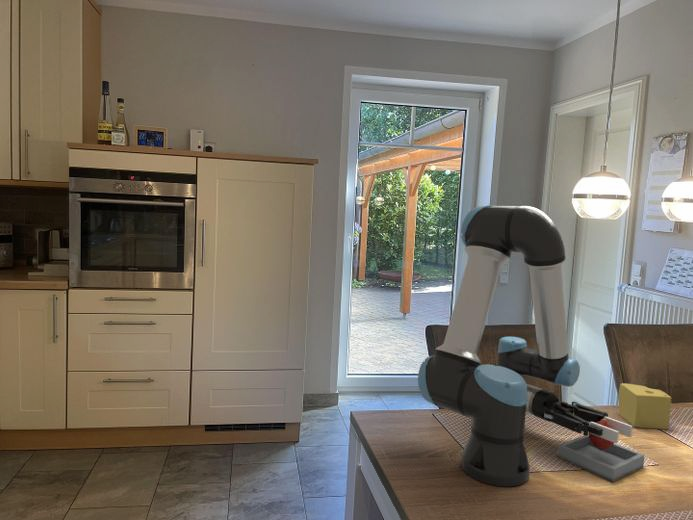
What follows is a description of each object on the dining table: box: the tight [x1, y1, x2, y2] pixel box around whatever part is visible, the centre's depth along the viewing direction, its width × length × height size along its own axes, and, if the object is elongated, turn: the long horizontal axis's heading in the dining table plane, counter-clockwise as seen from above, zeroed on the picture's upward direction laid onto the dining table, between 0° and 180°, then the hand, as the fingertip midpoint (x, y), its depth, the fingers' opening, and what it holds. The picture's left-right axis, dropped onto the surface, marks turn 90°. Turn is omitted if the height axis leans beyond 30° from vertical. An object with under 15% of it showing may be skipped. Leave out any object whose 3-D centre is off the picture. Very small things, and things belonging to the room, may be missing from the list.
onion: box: [588, 419, 614, 451], centre depth 124 cm, size 6×6×8 cm
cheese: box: [617, 382, 672, 430], centre depth 151 cm, size 10×11×10 cm
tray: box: [556, 433, 645, 483], centre depth 124 cm, size 14×14×3 cm
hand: (624, 434), depth 119 cm, fingers closed on onion, 6 cm apart
